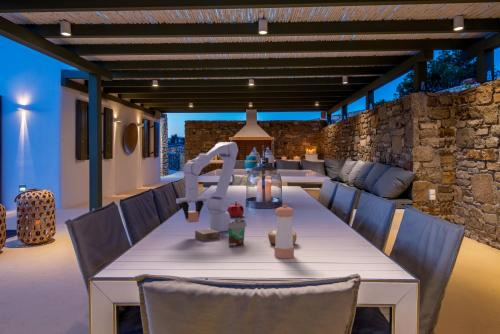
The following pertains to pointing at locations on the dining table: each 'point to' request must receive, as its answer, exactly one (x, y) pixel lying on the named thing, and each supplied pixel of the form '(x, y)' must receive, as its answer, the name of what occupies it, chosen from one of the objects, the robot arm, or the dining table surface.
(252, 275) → the dining table surface
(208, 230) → the walnut block
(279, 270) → the dining table surface
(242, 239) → the food container
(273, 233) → the pastry
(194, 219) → the terracotta cube
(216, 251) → the dining table surface
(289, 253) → the pepper shaker
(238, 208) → the pomegranate
